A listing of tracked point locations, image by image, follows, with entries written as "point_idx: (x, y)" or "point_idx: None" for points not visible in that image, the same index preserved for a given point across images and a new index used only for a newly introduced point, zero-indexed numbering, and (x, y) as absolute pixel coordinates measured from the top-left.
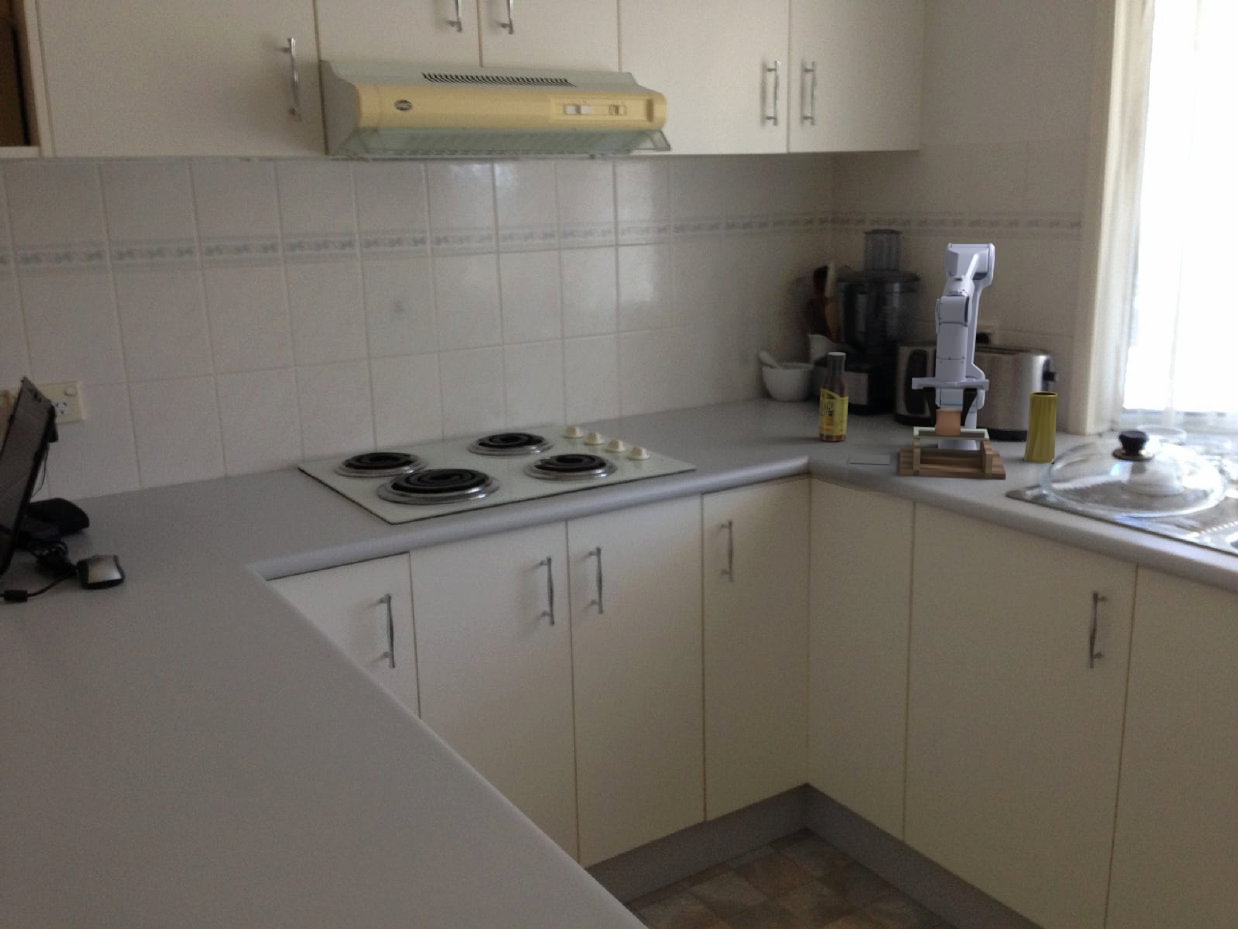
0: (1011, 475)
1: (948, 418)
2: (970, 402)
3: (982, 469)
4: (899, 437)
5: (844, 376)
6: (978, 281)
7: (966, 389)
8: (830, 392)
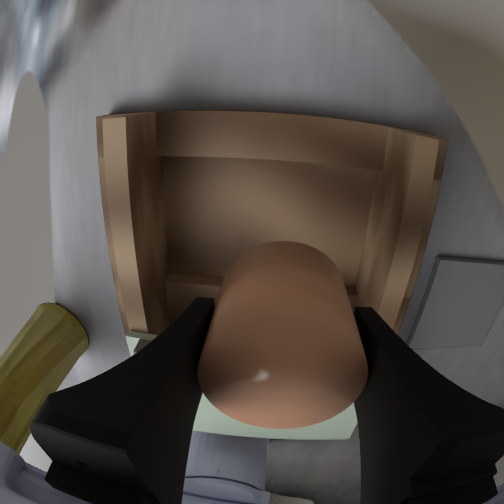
0: (93, 191)
1: (295, 295)
2: (110, 379)
3: (166, 228)
4: (331, 463)
5: None
6: None
7: (125, 499)
8: None
